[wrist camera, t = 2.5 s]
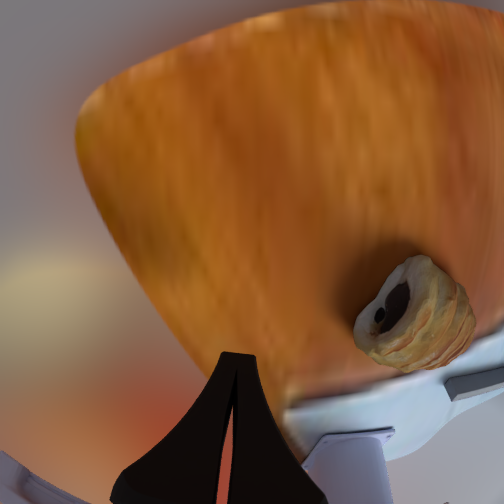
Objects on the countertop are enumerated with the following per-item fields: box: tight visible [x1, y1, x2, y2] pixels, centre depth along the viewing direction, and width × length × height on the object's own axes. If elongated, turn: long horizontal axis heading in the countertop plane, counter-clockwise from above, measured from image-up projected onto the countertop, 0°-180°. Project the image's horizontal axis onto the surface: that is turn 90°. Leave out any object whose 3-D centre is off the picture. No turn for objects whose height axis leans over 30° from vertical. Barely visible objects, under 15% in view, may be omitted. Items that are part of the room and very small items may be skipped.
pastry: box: [353, 255, 476, 373], centre depth 14 cm, size 9×7×4 cm
